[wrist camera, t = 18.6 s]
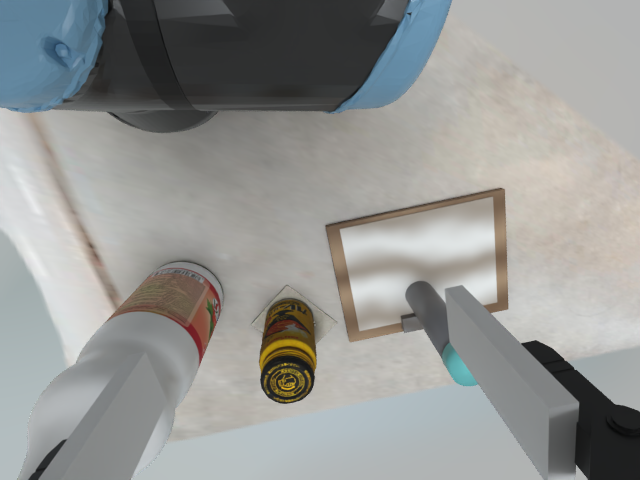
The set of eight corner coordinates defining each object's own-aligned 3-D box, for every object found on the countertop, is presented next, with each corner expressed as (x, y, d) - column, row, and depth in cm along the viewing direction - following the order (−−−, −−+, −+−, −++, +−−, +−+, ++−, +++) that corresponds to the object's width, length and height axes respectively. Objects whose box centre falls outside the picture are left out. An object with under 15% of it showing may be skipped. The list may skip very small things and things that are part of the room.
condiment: (286, 284, 44) (283, 341, 32) (337, 321, 46) (350, 388, 35) (250, 323, 45) (234, 392, 34) (301, 358, 47) (302, 433, 36)
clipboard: (325, 225, 42) (326, 230, 40) (500, 188, 41) (510, 191, 40) (348, 338, 47) (351, 347, 45) (504, 306, 47) (513, 313, 45)
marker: (404, 282, 43) (451, 352, 30) (434, 278, 43) (494, 347, 30) (404, 309, 45) (450, 388, 31) (434, 305, 45) (492, 383, 31)
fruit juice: (188, 244, 41) (-7, 465, 15) (240, 301, 44) (154, 573, 18) (129, 288, 43) (-147, 563, 16) (183, 340, 45) (23, 649, 19)
